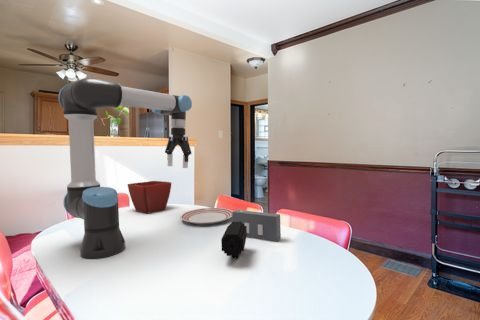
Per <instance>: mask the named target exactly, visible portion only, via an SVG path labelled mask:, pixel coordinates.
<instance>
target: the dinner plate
mask: <svg viewBox="0 0 480 320" xmlns="http://www.w3.org/2000/svg"><path fill="white" fill-rule="evenodd" d="M233 211H234V210H231V209H228V208H224V207H223V208H222V207H205V208H204V207H203V208H197V209H196V208H195V209H193V210H192V209H191V210H188V211H186V212H184V213H182V214H181V215H180V219H181V220H182V221H184V222H186V223H189V224H192V225H193V224H195V225H204V226H207V225H215V224H219V223H222V222H224V221H227V220H229V219H231V218H232V212H233Z"/></svg>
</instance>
